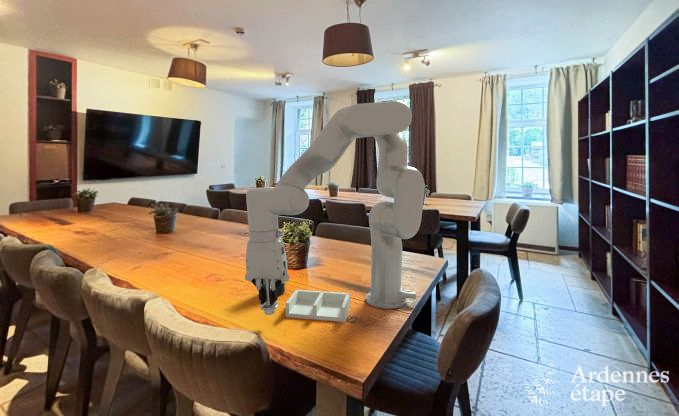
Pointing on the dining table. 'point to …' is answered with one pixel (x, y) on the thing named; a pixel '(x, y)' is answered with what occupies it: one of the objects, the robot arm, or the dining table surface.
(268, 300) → the screw
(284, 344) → the dining table surface
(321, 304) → the rack
